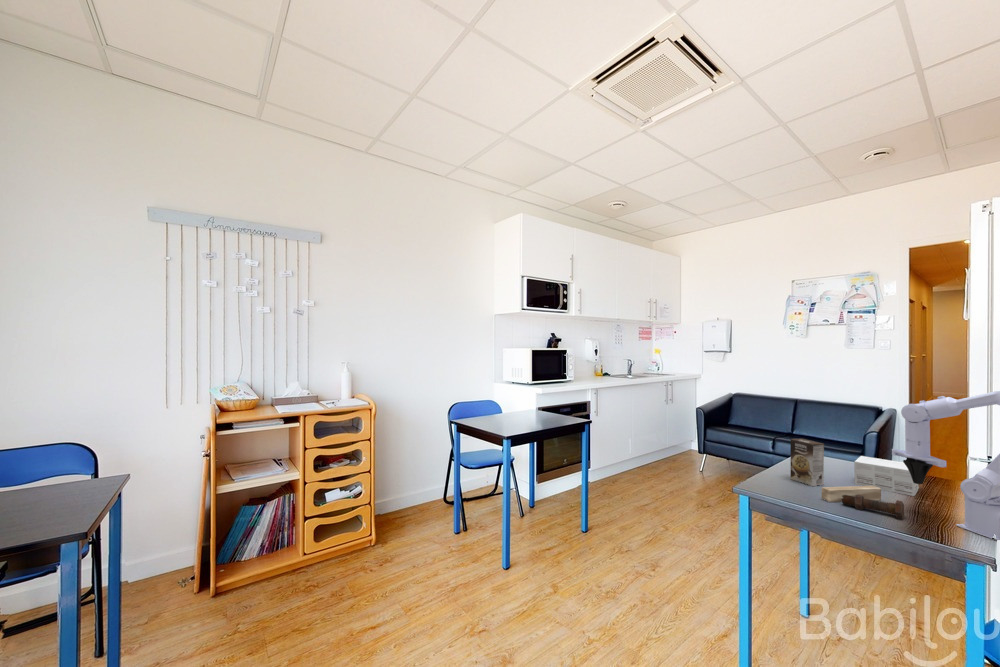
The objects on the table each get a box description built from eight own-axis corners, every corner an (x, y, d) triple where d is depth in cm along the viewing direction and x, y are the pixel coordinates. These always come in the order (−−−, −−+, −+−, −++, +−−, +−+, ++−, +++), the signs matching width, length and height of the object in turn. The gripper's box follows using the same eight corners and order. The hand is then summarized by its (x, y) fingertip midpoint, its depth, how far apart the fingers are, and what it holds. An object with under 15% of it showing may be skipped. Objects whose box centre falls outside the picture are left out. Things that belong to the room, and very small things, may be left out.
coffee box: (789, 479, 169) (789, 438, 169) (801, 477, 171) (801, 437, 171) (812, 486, 160) (812, 444, 160) (824, 485, 162) (824, 442, 162)
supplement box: (919, 489, 159) (918, 464, 159) (915, 497, 151) (914, 470, 151) (860, 477, 172) (860, 454, 172) (854, 484, 163) (853, 460, 164)
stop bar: (881, 500, 147) (880, 488, 147) (829, 502, 144) (829, 490, 145) (872, 496, 150) (872, 485, 150) (821, 498, 147) (821, 487, 148)
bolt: (843, 509, 143) (904, 522, 132) (840, 505, 140) (902, 518, 129) (844, 492, 145) (904, 503, 134) (841, 487, 143) (902, 499, 131)
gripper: (883, 436, 143) (884, 476, 143) (932, 446, 129) (932, 491, 129) (902, 435, 144) (902, 475, 144) (952, 446, 130) (952, 490, 129)
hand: (918, 483), depth 136 cm, fingers closed
